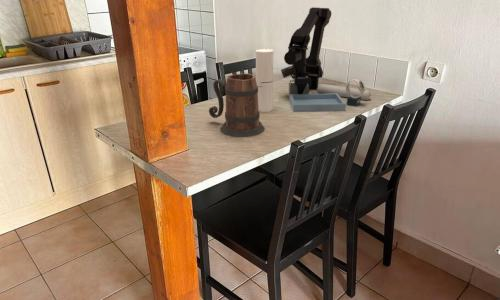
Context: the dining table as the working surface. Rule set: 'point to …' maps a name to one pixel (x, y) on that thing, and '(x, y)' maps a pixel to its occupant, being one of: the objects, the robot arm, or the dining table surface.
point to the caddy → (294, 89)
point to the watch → (355, 99)
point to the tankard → (238, 106)
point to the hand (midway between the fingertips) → (298, 93)
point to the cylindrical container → (264, 79)
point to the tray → (316, 102)
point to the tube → (342, 91)
